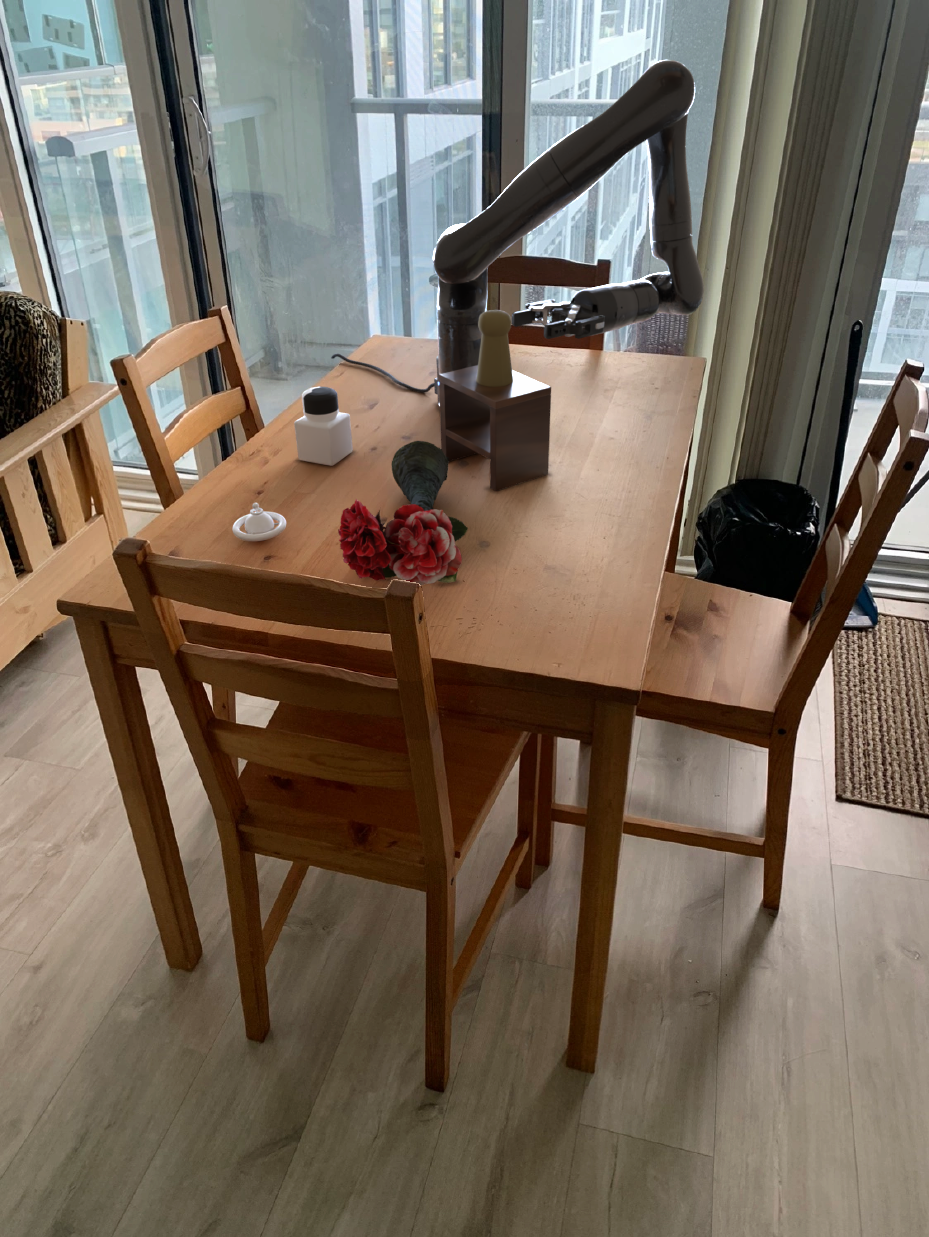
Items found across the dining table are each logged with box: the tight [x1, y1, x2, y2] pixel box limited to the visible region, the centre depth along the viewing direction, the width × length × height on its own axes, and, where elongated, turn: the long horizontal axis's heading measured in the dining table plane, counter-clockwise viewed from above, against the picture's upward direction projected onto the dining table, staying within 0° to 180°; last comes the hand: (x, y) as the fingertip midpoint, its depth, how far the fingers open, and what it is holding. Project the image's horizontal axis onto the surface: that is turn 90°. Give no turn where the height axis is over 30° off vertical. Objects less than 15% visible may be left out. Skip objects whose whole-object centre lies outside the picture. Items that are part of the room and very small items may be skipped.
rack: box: [439, 365, 552, 492], centre depth 156 cm, size 16×11×15 cm
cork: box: [476, 309, 513, 387], centre depth 149 cm, size 6×6×11 cm
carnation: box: [337, 440, 469, 586], centre depth 135 cm, size 16×18×35 cm
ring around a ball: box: [232, 502, 287, 542], centre depth 139 cm, size 8×6×8 cm
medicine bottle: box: [293, 386, 354, 467], centre depth 162 cm, size 7×7×12 cm
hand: (528, 326), depth 151 cm, fingers open, 8 cm apart
